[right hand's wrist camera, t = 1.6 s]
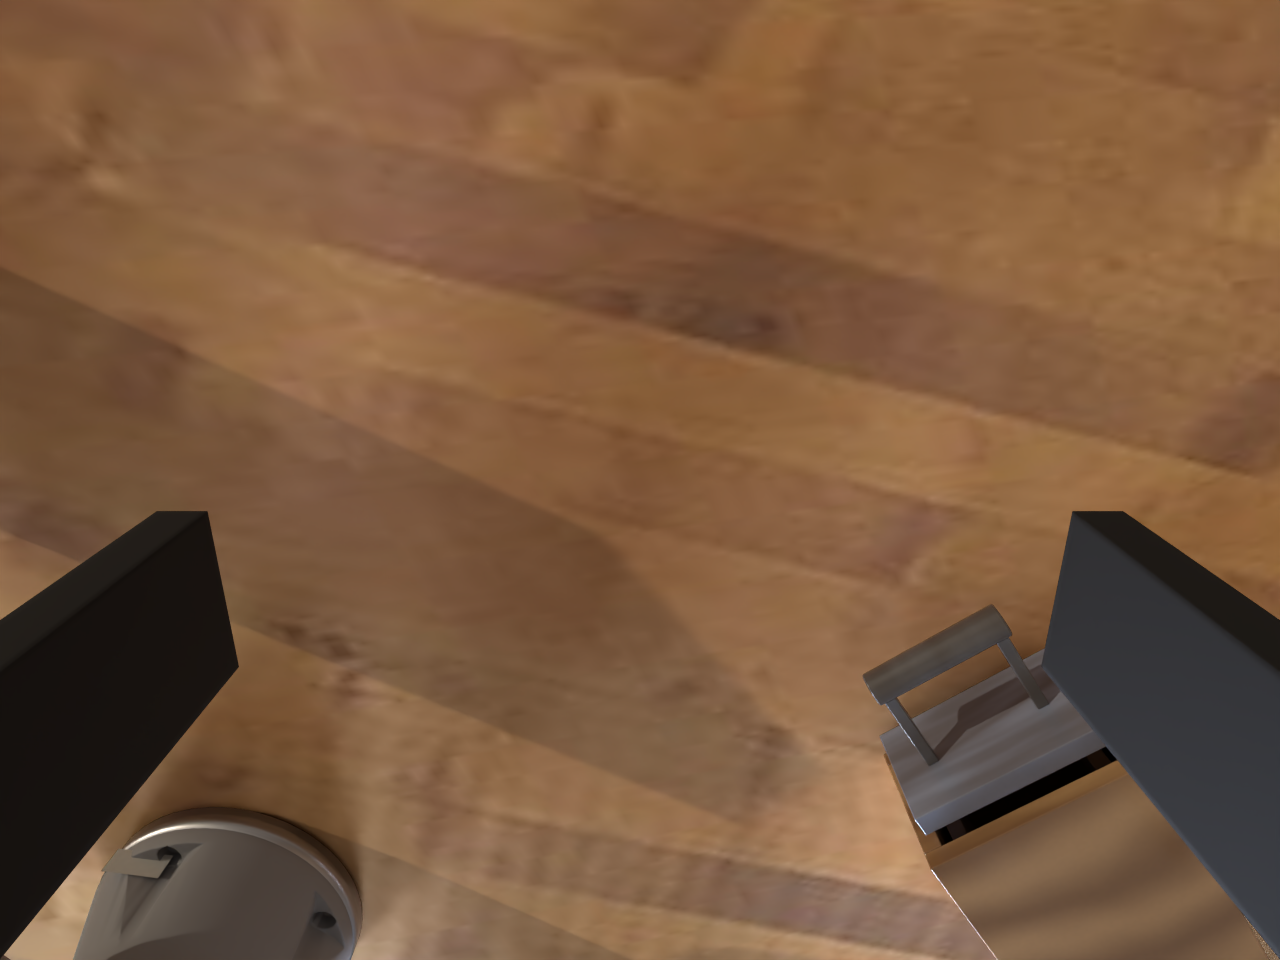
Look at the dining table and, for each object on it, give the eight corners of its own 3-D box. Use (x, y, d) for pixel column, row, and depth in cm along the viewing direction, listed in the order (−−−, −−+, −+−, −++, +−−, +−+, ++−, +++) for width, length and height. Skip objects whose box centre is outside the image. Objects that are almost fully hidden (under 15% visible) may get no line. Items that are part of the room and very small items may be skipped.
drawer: (821, 655, 43) (849, 731, 37) (994, 557, 41) (1053, 622, 35) (1031, 949, 50) (1082, 1051, 44) (1186, 879, 48) (1261, 977, 42)
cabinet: (882, 754, 46) (930, 869, 39) (1065, 658, 44) (1154, 760, 36) (1038, 971, 52) (1106, 1108, 45) (1206, 896, 50) (1308, 1028, 42)
